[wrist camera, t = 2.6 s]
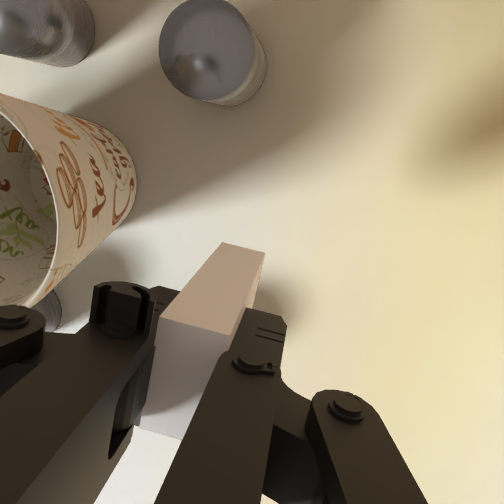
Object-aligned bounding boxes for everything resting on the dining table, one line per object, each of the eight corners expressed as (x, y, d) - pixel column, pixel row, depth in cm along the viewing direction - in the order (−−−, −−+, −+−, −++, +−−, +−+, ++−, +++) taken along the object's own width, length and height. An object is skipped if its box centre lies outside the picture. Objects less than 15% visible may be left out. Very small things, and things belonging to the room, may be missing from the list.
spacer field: (-127, 293, 28) (-216, 327, 24) (-127, -55, 23) (-241, -102, 18) (199, 381, 27) (174, 436, 22) (274, 33, 22) (263, 7, 17)
